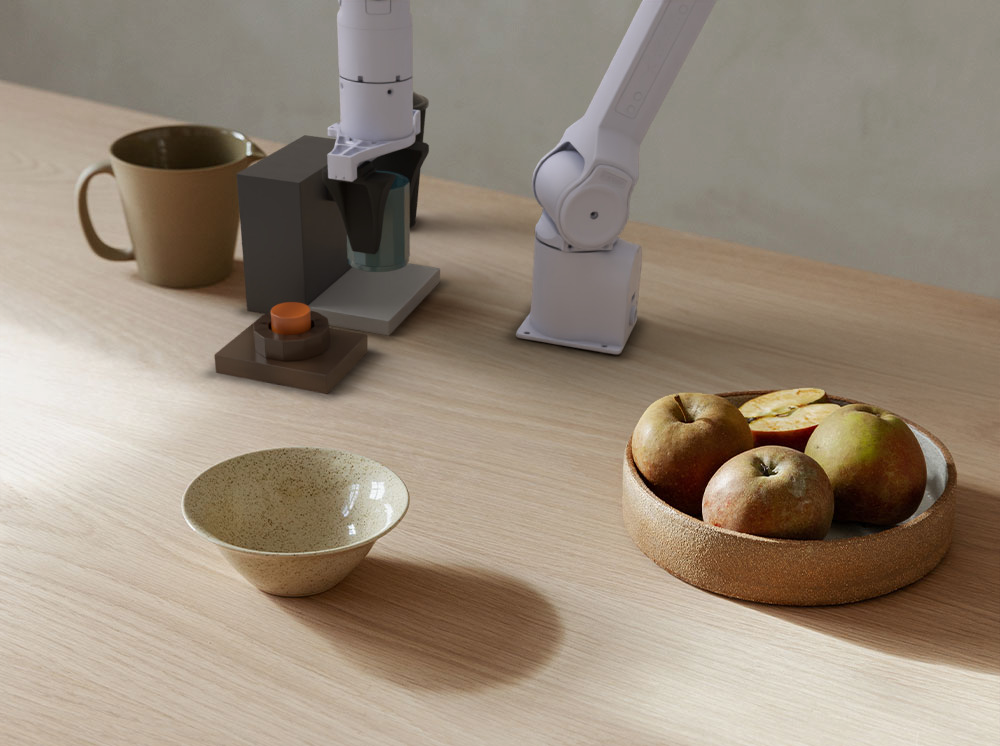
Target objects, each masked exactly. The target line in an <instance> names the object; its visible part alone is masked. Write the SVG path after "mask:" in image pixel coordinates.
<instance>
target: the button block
mask: <svg viewBox="0 0 1000 746" xmlns="http://www.w3.org/2000/svg"><path fill="white" fill-rule="evenodd" d="M368 348H369V347H368V334H366V333H360V332H355V331H349V330H343V329H337V328H333V327H330V325H329V321H328V318H326V317H325V316H323V315H321V314H319V313H318V312H314V311H311V330H310V331H308V332H305V333H301V334H297V335H283V334H277V333H274V332H273V331H272V325H271V313H268V314H262V315H261V316H260V317H258V318H257V319H256V320H255V321H254V322H252V323H251V324H250V325H248V327H246V328H245V329H244V330H243V331H241V332H240V333H239V334H238V335H236V336H235V337H234V338H232V340H230V341H229V342H228V343H226V344H225V345H224V346H223V347H222V348H221V349H219V350H218V351H217V352H216V353H214V365H215V373H216V374H221V375H227V376H231V377H238V378H243V379H248V380H252V381H258V382H262V383H266V384H267V383H268V384H273V385H279V386H282V387H289V388H293V389H298V390H304V391H309V392H315V393H319V394H323V395H324V394H325V395H328V394H329V393H330V392H331V391H332V390H333V389H334V388H335V387H336V386H337V385H338V384H339V383H340V382H341V380H342V379H343V378H344V377H346V375H348V373H349V372H350V371H351V370H352V369H353V368H354V367H355V366H356V365H357V364H358V363H359V362H360V361H361V360H362V358H364V356H366V354H367V353H368V352H369V351H368Z"/></svg>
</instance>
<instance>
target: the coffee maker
mask: <svg viewBox="0 0 1000 746" xmlns="http://www.w3.org/2000/svg"><path fill="white" fill-rule="evenodd" d="M335 142H336V138H331V137H323V136H313V135H306V134H305V135H304V134H303V135H302V136H301V137H298V138H297V139H295V140H293V141H292V142H290V143H288V144H286V145H285V146H283V147H281V148H280V149H277V150H276V151H274V152H272V153H271V154H269V155H267V156H265V157H264V158H261V159H259V160H258V161H256V162H254V163H253V164H251V165H249V166H248V167H246V168H244V169H242V170H240V171H238V172H237V173H236V186H237V198H238V199H237V200H238V211H239V223H240V224H239V225H240V237H241V248H242V262H243V275H244V289H245V299H246V301H245V302H246V310H247V312H251V313H257V314H262V315H265V314H268V313H271V309H272V308H273V307H274V306H276V305H278V304H281V303H286V302H298V303H303V304H305V305H307V306H309V308H310V311H314V312H318V313H319V314H321V315H323V316H325V317H326V318H328V321H329V327H330V326H331V327H337V328H343V329H348V330H354V331H359V332H366V333H371V334H375V335H383V336H387V337H390V336H391V334H393V332H395V330H396V329H397V328H398V327H399V326H400V325H401V324H402V323H403V322H404V321H405V320H406V318H408V317H409V315H411V313H412V312H413V311H414V310H415V309H416V308H417V307H418V306H419V305H420V304H421V303H422V302H423V301H424V299H426V297H427V296H428V295H429V294H430V293H431V292H433V290H434V289H435V288H436V287H437V286H438V285H439V284H440V283H441V268H440V267H436V266H430V265H422V264H416V263H411V262H409V263H408V264H407V265H406V266H405V267H403V268H401V269H398V270H394V271H389V272H367V271H362V270H358V269H356V268H353V267H352V266H350V265H349V264H348V261H347V238H346V229H345V225H344V222H343V219H342V216H341V213H340V210H339V208H338V206H337V203H336V201H335V200H334V198H333V196H332V194H331V192H330V191H329V189H328V188H327V186H326V185H325V183H324V182H323V180H322V168H323V167H324V166H326V165H327V164H328V157H327V154H329V153H330V152H331V151H332V150H333V148H334V146H335Z"/></svg>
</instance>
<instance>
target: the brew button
mask: <svg viewBox="0 0 1000 746" xmlns="http://www.w3.org/2000/svg"><path fill="white" fill-rule="evenodd" d="M271 325H272V331H273V332H274V333H277V334H283V335H297V334H301V333H305V332H308V331H310V330H311V311H310V308H309V306H307V305H305V304H303V303H298V302H286V303H281V304H278V305H276V306H274V307H273V308H272V309H271Z"/></svg>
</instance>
